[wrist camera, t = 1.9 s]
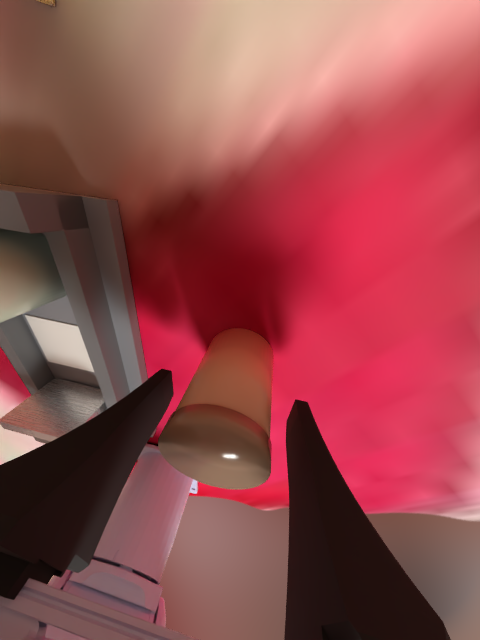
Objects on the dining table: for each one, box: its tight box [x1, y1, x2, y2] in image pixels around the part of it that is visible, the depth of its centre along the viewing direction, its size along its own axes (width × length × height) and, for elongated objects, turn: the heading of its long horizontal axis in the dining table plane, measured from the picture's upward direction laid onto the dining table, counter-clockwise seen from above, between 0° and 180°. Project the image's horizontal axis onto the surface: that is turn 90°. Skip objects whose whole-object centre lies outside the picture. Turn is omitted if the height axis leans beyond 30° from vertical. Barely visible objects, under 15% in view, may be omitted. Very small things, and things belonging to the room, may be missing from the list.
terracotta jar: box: [158, 328, 274, 489], centre depth 12 cm, size 5×5×7 cm
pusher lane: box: [0, 184, 156, 444], centre depth 15 cm, size 22×12×4 cm, turn 173°
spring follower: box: [0, 378, 107, 441], centre depth 17 cm, size 4×6×4 cm, turn 83°
